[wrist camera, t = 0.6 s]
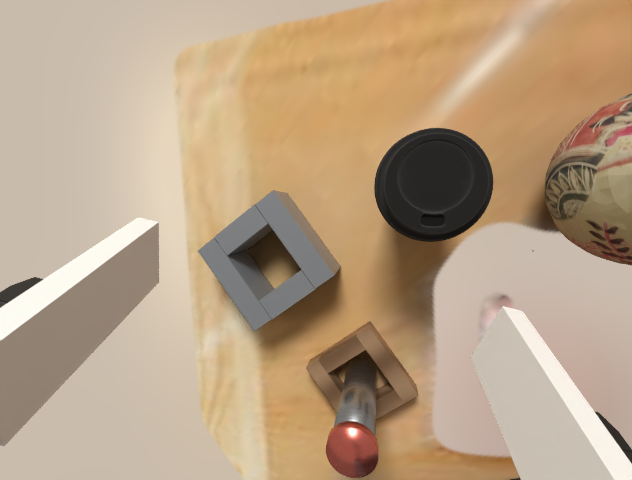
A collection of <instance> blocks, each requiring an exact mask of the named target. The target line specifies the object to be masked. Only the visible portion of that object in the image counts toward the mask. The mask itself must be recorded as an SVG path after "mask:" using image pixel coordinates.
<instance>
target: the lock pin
mask: <svg viewBox="0 0 632 480" xmlns="http://www.w3.org/2000/svg"><path fill="white" fill-rule="evenodd" d="M376 390H377V370H376V367H375V365H374V364H373V363H372V362H371V361H370V360H368V359H366V358H362V357H359V358H355V359H353V360H352V361H350V363H349V364H348V366H347V370H346V374H345V379H344V384H343V388H342V393H341V397H340V402H339V406H338V411H337V415H336V420H335V424H334V428H333V429H332V430H331V432H330V433H329V436H328V441H327V445H326V454H327V458H328V460H329V462H330V464H331V465H332V467H333V468H334V469H335V470H336V471H338V472H339V473H341V474H342V475H344V476H347V477H351V478H360V477H364V476H366V475H368V474H370V473H371V472H372V471H373V470H374V469H375V467H376V465H377V462H378V442H377V439H376V437H375V428H376Z"/></svg>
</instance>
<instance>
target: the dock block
mask: <svg viewBox="0 0 632 480" xmlns="http://www.w3.org/2000/svg"><path fill="white" fill-rule="evenodd" d="M272 230H274V232H275V233H276V235H277V236H278V237H279V239H280V240H281V242H282V243H283V244H284V246H285V247H286V249H287V250H288V251H289V253H290V254H291V256H292V257H293V258H294V260H295V261H296V263H297V264H298V265H299V267H300V268H301V270H300V271H299V272H298V273H296V274H295V275H294V276H292V277H291V278H289V279H288V280H287V281H285V282H284V283H282V284H281V285H280V286H278V287H277V288H276V289H274V288H273V287H272V285H271V284H270V282H269V281H268V280H267V278H266V277H265V275H264V274H263V273H262V271H261V270H260V268H259V267H258V265H257V264H256V263H255V261H254V260H253V258H252V257H251V256H250V254H249V253H248V251H247V250H248V249H249V248H250V247H252V246H253V245H254V244H255V243H257V242H258V241H259V240H261V239H262V238H263V237H265V236H266V235H267V234H268V233H270V232H271V231H272ZM198 252H199V253H200V255H201V256H202V258H203V259H204V260H205V262H206V263H207V265H208V266H209V268H210V269H211V271H212V272H213V273H214V275H215V276H216V278H217V279H218V281H219V282H220V283H221V285H222V286H223V288H224V289H225V291H226V292H227V293H228V295H229V296H230V298H231V299H232V301H233V302H234V303H235V305H236V306H237V308H238V309H239V311H240V312H241V313H242V315H243V316H244V318H245V319H246V321H247V322H248V323H249V325H250V326H251V328H252V329H253V331H255V330H257V329H258V328H260V327H261V326H263V325H264V324H266V323H267V322H268V321H270V320H271V319H274V318H275V317H276V316H278V315H279V314H281V313H282V312H284V311H285V310H286V309H288V308H289V307H291V306H292V305H294V304H295V303H296V302H298V301H299V300H301V299H302V298H304V297H305V296H306V295H308V294H309V293H311V292H312V291H314V290H315V289H316V288H317V287H318V286H320V285H321V284H323V283H324V282H326V281H327V280H328V279H330V278H331V277H333V276H334V275H335V274H336V272H337V271H338V270H339V268H340V265H339V264H338V262H337V261H336V260H335V258H334V257H333V255H332V254H331V253H330V251H329V250H328V249H327V247H326V246H325V244H324V243H323V242H322V240H321V239H320V237H319V236H318V235H317V233H316V232H315V231H314V229H313V228H312V226H311V225H310V224H309V222H308V221H307V219H306V218H305V217H304V215H303V214H302V213H301V211H300V210H299V208H298V207H297V206H296V204H295V203H294V202H293V200H292V199H291V197H290V196H289V195H288V193H284V192H279V191H274V190H273V191H271V192H270V193H269V194H268V195H267V196H265V197H264V198H263V199H262V200H260V201H259V202H258V203H257V204H255V205H253V206H252V207H251V208H250V209H248V210H247V211H246V212H245V213H243V214H242V215H241V216H240V217H238V218H237V219H236V220H235V221H233V222H232V223H231V224H230V225H228V226H227V227H226V228H225V229H223V230H222V231H221V232H220V233H219V234H217V235H216V236H215V237H214V238H213V239H212V240H211V241H209V242H208V243H207V244H206V245H204V246H203V247H202V248H201V249H199V250H198Z"/></svg>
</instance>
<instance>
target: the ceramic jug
mask: <svg viewBox="0 0 632 480" xmlns="http://www.w3.org/2000/svg"><path fill="white" fill-rule="evenodd" d="M545 199H546V206H547V208H548V210H549V212H550V214H551V216H552V219H553V221H554V223H555V225H556V227H557V228H558V229H559V230H560V232H561V233H562V234H563V235H564V236H565V237H566V238H567V239H568V240H570V241H571V242H572V243H574V244H575V245H577V246H578V247H580V248H582V249H583V250H585V251H587V252H589V253H591V254H593V255H595V256H598V257H600V258H603V259H606V260H610V261H613V262H617V263H621V264H628V265H632V94H629V95H627V96H623V97H622V98H620V99H619V100H616V101H614V102H612V103H610V104H608V105H606V106H603V107H601V108H599V109H598V110H597V111H595V112H594V113H593V114H591V115H590V116H588V117H587V118H586V119H584V120H583V121H582V122H581V123H579V124H578V125H577V126H576V127H575V128H574V129H573V130H572V131H571V132H570V134H569V135H568V136H567V137H566V138H565V139H564V140H563V141H562V143H561V144H560V145H559V147H558V149H557V151H556V152H555V154H554V156H553V158H552V160H551V162H550V165H549V167H548V170H547V173H546V181H545Z"/></svg>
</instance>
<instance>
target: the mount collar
mask: <svg viewBox="0 0 632 480" xmlns="http://www.w3.org/2000/svg"><path fill="white" fill-rule="evenodd" d="M364 350H367V352H368V353H369V355H370V356H371V357H372V359H373V360H374V362H375V363H376V364H377V366H378V367H379V369H380V370H381V371H382V373H383V374H384V376H385V377H386V378H387V380H388V381H389V383H388V384H386V385H384V386H382V387H381V388H379V389H377V390H376V419H378V418H380V417H381V416H383V415H385V414H387V413H388V412H390V411H392V410H394V409H395V408H397V407H399V406H401V405H402V404H404V403H406V402H408V401H410V400H411V399H413V398H415V397H417V396H418V391H417V387H416V384H415V383H414V381H413V380H412V378H411V377H410V376H409V374H408V373H407V372H406V370H405V369H404V367H403V366H402V365H401V363H400V362H399V360H398V359H397V358H396V356H395V355H394V353H393V352H392V351H391V349H390V348H389V347H388V345H387V344H386V342H385V341H384V340H383V338H382V337H381V335H380V334H379V333H378V331H377V330H376V329H375V327H374V326H373V324H372V323H371V322H368V323H367V324H365V325H364V326H362V327H361V328H359V329H357V330H356V331H354V332H353V333H351V334H350V335H348V336H347V337H345V338H343V339H342V340H340V341H339V342H337V343H336V344H334V345H333V346H331V347H330V348H328V349H326V350H325V351H323V352H322V353H320V354H319V355H317V356H316V357H314V358H313V359H311V360H310V361H309V364H308V366H307V368H306V369H307V370H308V372H309V373H310V375H311V376H312V378H313V379H314V380H315V382H316V383H317V385H318V386H319V388H320V389H321V390H322V392H323V393H324V395H325V396H326V397H327V399H328V400H329V402H330V403H331V405H332V406H333V407H334V409H335V410H336V412H337V411H338V406H339V402H340V397H341V393H342V388H343V384H344V383H343V382H342V380H341V379H340V378H339V376H338V375H337V373H336V372H335V370H334V369H336V368H337V367H339V366H340V365H342V364H344V363H345V362H347V361H348V360H350V359H352V358H353V357H355V356H356V355H358V354H360V353H361V352H363V351H364Z"/></svg>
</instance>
